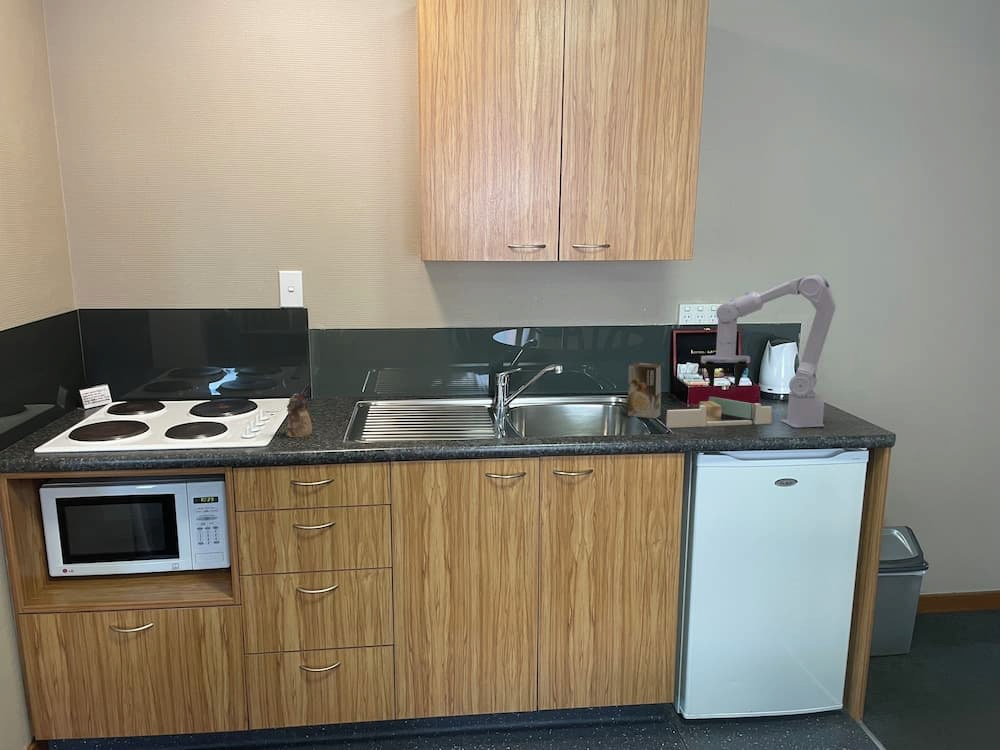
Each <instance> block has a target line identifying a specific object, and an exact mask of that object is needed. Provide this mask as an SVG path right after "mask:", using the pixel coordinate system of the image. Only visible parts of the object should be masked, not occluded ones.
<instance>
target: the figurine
mask: <svg viewBox="0 0 1000 750" xmlns="http://www.w3.org/2000/svg"><path fill="white" fill-rule="evenodd" d="M307 396H308V394H307V393H306V392H303V393H302V395H300V394H299V393H294V394H292V396H291V397H290V398H289V400H288V404H287V406H286V409H287V411H286V412H287V413H288V420H287V427H286V437H287V436H289V438H291V437H302V438H305V437H304V436H306V437H308V436H307V435H309V436H311V435H312V434H311V433H313V425H312V420H311V416H310V414H309V412H308V410H309V402H308V400H306V399H305V398H306V397H307ZM303 404H305V407H303ZM310 434H311V435H310Z"/></svg>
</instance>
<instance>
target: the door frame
mask: <svg viewBox="0 0 1000 750" xmlns="http://www.w3.org/2000/svg"><path fill="white" fill-rule="evenodd" d="M753 404H755V414H754V419H741V420H740V419H739V420H721V421H711V422H706V406H704V405H699V404H698V405H699V408H691V409H690V408H688V409H667V410H666V426H667V427H666V428H668V429H673V428H698V427H699V428H700V427H718V426H719V427H721V426H741V425H742V426H746V425H747V426H749V425H768V424H769V425H771V424H772V415H773V407H772V406H770V405H767V406H766V405H764V406H763V405H762V403H759V402H758V403H757V402H755V403H753Z"/></svg>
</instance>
